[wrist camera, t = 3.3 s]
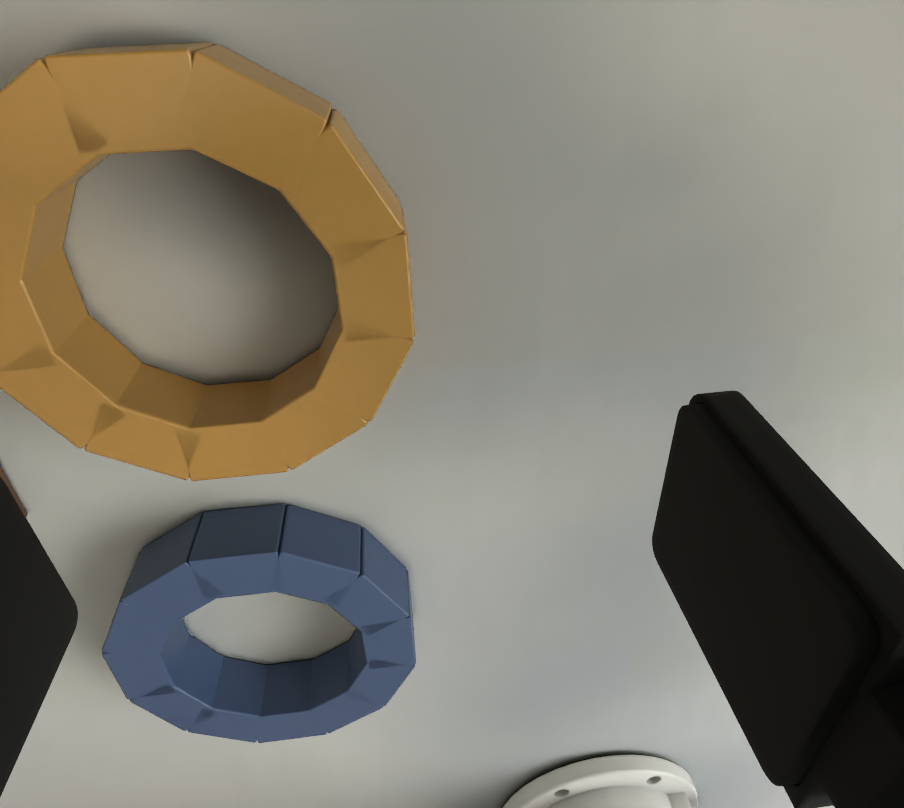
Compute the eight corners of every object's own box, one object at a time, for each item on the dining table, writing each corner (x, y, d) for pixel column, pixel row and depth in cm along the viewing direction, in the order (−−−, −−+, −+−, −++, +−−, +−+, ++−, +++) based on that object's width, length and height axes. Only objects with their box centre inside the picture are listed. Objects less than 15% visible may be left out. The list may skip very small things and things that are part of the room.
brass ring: (388, 33, 16) (392, 38, 13) (419, 415, 22) (424, 459, 20) (-102, 56, 15) (-180, 66, 13) (78, 446, 21) (47, 496, 19)
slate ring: (399, 491, 24) (401, 538, 22) (419, 672, 30) (422, 722, 28) (84, 523, 23) (55, 575, 21) (173, 702, 29) (158, 756, 27)
